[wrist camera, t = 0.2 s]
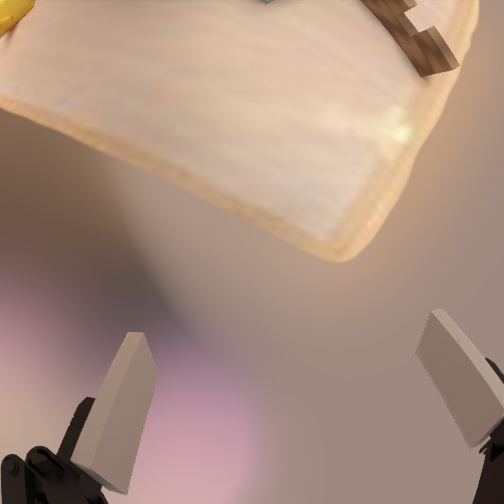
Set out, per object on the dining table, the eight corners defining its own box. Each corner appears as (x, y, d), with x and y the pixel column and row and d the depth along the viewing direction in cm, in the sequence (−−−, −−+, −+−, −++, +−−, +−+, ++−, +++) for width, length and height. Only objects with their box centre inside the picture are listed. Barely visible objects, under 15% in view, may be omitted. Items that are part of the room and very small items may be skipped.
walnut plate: (356, -5, 24) (376, -28, 16) (364, -9, 23) (385, -30, 16) (421, 77, 29) (452, 70, 21) (428, 72, 28) (459, 65, 21)
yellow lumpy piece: (54, -21, 18) (27, -36, 9) (16, 40, 22) (-17, 34, 13) (20, -17, 15) (-5, -27, 6) (-12, 37, 19) (-40, 33, 10)
